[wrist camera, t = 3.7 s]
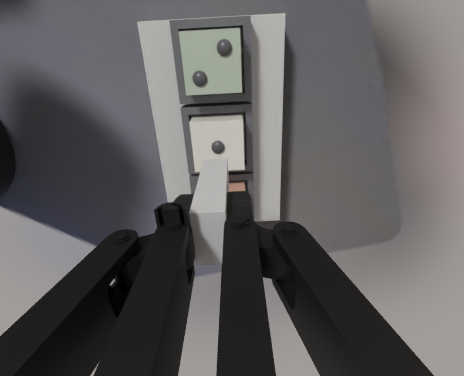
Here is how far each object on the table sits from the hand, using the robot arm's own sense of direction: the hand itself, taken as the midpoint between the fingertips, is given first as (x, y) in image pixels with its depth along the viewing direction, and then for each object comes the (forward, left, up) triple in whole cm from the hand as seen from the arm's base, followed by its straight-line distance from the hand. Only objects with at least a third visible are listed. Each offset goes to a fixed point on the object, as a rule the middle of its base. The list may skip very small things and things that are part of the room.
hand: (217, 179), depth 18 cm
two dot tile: (0, +7, -9) cm, 11 cm away
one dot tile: (0, 0, -9) cm, 9 cm away
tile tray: (0, 0, -13) cm, 13 cm away
